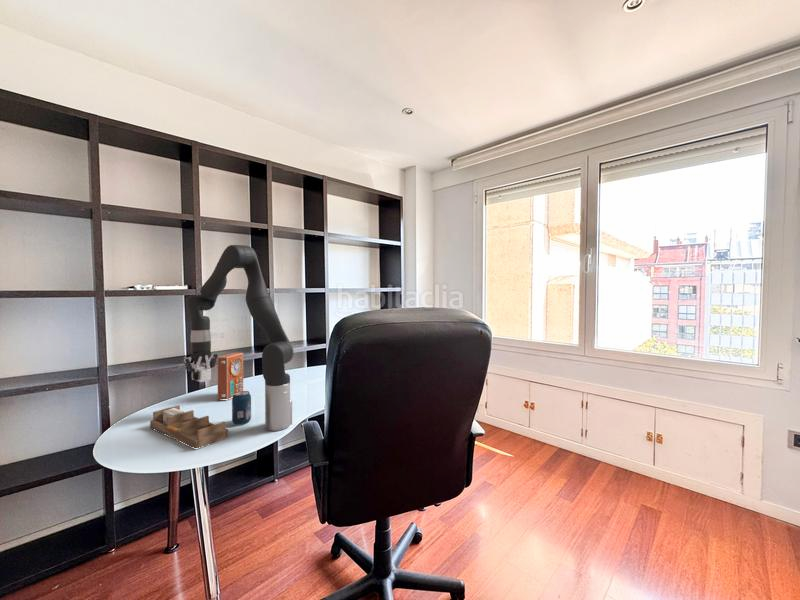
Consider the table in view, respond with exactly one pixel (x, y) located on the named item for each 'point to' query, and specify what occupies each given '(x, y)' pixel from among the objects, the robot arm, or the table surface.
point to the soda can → (241, 407)
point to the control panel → (230, 375)
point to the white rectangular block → (203, 374)
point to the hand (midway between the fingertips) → (201, 379)
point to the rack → (188, 427)
